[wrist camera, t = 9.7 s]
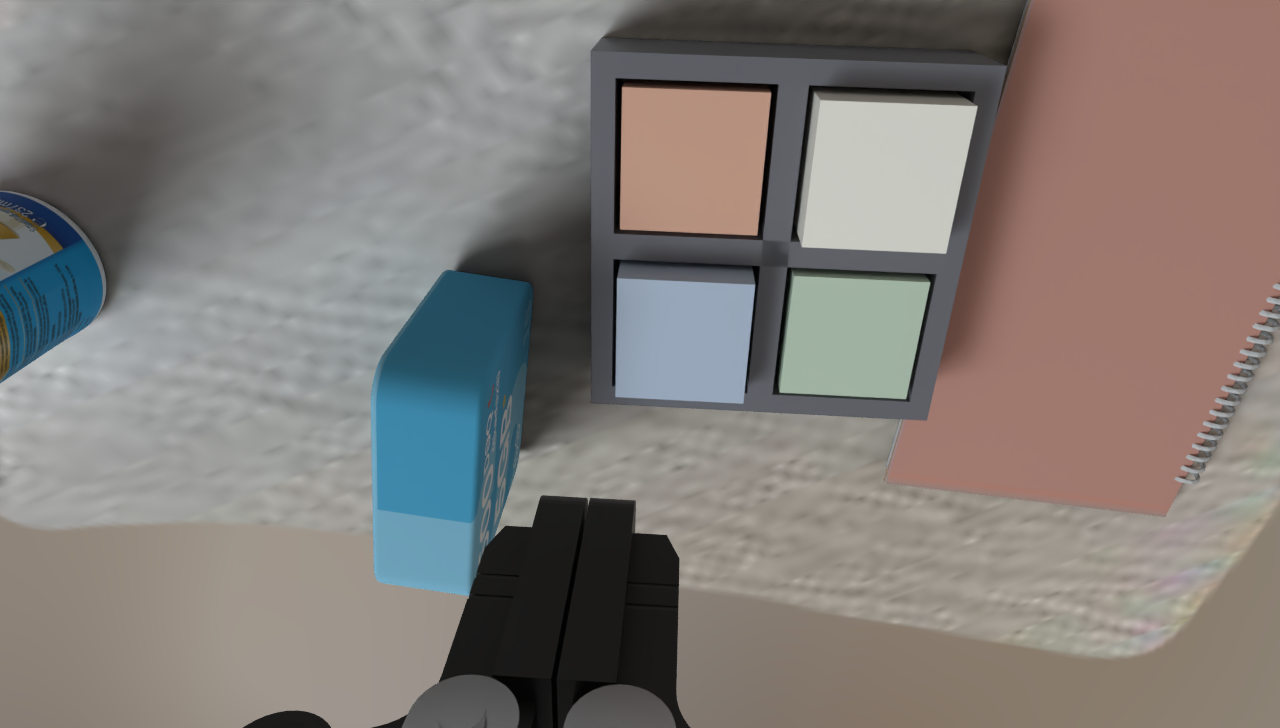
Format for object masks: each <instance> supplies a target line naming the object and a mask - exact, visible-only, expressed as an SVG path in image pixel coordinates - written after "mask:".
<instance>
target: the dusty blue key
mask: <svg viewBox="0 0 1280 728" xmlns="http://www.w3.org/2000/svg"><path fill="white" fill-rule="evenodd" d="M754 292H755V281H754V275H753V269H752V266H750V265H728V264H706V263H685V262H663V261H641V260H621V263H620V267H619V272H618V276H617V318H616V390H615V397H625V398H644V399H663V400H682V401H701V402H720V403H739V404H743V402H744V392H745V382H746V372H747V362H748V352H749V342H750V332H751V322H752V312H753V302H754Z"/></svg>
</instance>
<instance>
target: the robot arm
mask: <svg viewBox="0 0 1280 728" xmlns="http://www.w3.org/2000/svg"><path fill="white" fill-rule="evenodd" d="M635 515H636V501H634V500H616V499H599V498H590V501H589V505H588V500H587V498H578V497H561V496H543V495H542V496H541V498H540V500H539V504H538V507H537V511H536V515H535V519H534V522H533V526H532V527H517V526H505V527H504V528H503V529H502V530H501V531H500V532H499V533H498V534H497V535H496V536H495V537H494V538H493V539H492V540H491V541H490V543H489V544H488V545H487V546H486V547H485V549H484V552H483V554H482V557H481V560H480V563H479V566H478V569H477V572H476V578H474V581H473V584H472V587H471V590H470V593H469V599H467V602H466V605H465V608H464V611H463V614H462V617H461V620H460V623H459V626H458V629H457V632H456V634H455V638H454V640H453V643H452V646H451V649H450V652H449V655H448V658H447V662H446V664H445V667H444V670H443V673H442V676H441V678H440V681H439V683H437V684H435V685H434V686H432V687H431V688H429V689H428V690H426V691H425V692H424V693H423V694H422V695H421V696H420V697H419V698H418V699H417V701H416V702H415V703H414V704H413V706H412V707H411V709H410V711H409V713H408V714H407V715H406V716H404V717H402V718H400V719H398V720H396V721H393V722H391V723H388V724H384V725H381V726H377V727H373V728H690V727H689V726H688V724H687V723H686V721H685V720H684V718H683V716H682V714H681V712H680V710H679V707H678V703H677V696H676V678H677V634H678V595H679V557H678V555H677V553H676V552H675V550H674V548H673V546H672V544H671V542H670V541H669V539H668V537H667V535H656V534H639V533H635ZM243 728H331V727H330V725H329V724H328V723H327V722H326V721H325V720H324V719H322V718H321V717H319V716H317V715H315V714H312V713H309V712H304V711H284V712H278V713H274V714H271V715H267V716H264V717H262V718H260V719H258V720H255V721H253V722H252V723H250V724H248V725H246V726H245V727H243Z"/></svg>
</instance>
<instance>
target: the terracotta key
mask: <svg viewBox="0 0 1280 728" xmlns="http://www.w3.org/2000/svg"><path fill="white" fill-rule="evenodd" d="M770 100H771V91H770V89H769V87H768V85H767V84H760V83H734V82H707V81H680V80H653V79H626V80H625V82H624V84H623V86H622V128H621V193H620V229H621V230H644V231H666V232H689V233H711V234H734V235H756V236H757V232H758V222H759V212H760V202H761V192H762V181H763V171H764V161H765V151H766V141H767V130H768V120H769V110H770Z"/></svg>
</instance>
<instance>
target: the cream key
mask: <svg viewBox="0 0 1280 728" xmlns="http://www.w3.org/2000/svg"><path fill="white" fill-rule="evenodd" d="M977 107H978V106H977V105H975V104H973V103H972V102H970V101H969V100H967V99H966V98H964V97H962V96H961V95H959V94H958V93H956V92H955V91H949V90H922V89H895V88H868V87H841V86H814V85H809V92H808V101H807V109H806V118H805V126H804V134H803V143H802V151H801V160H800V168H799V177H798V185H797V193H796V202H795V210H794V219H793V222H794V225H795V228H796V231H797V234H798V237H799V240H800V243H801V246H802V247H807V248H830V249H852V250H874V251H896V252H919V253H941V254H946V252H947V247H948V242H949V238H950V233H951V228H952V224H953V219H954V214H955V210H956V205H957V200H958V196H959V191H960V186H961V182H962V177H963V172H964V168H965V163H966V158H967V154H968V149H969V145H970V140H971V135H972V131H973V126H974V121H975V117H976V112H977Z"/></svg>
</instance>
